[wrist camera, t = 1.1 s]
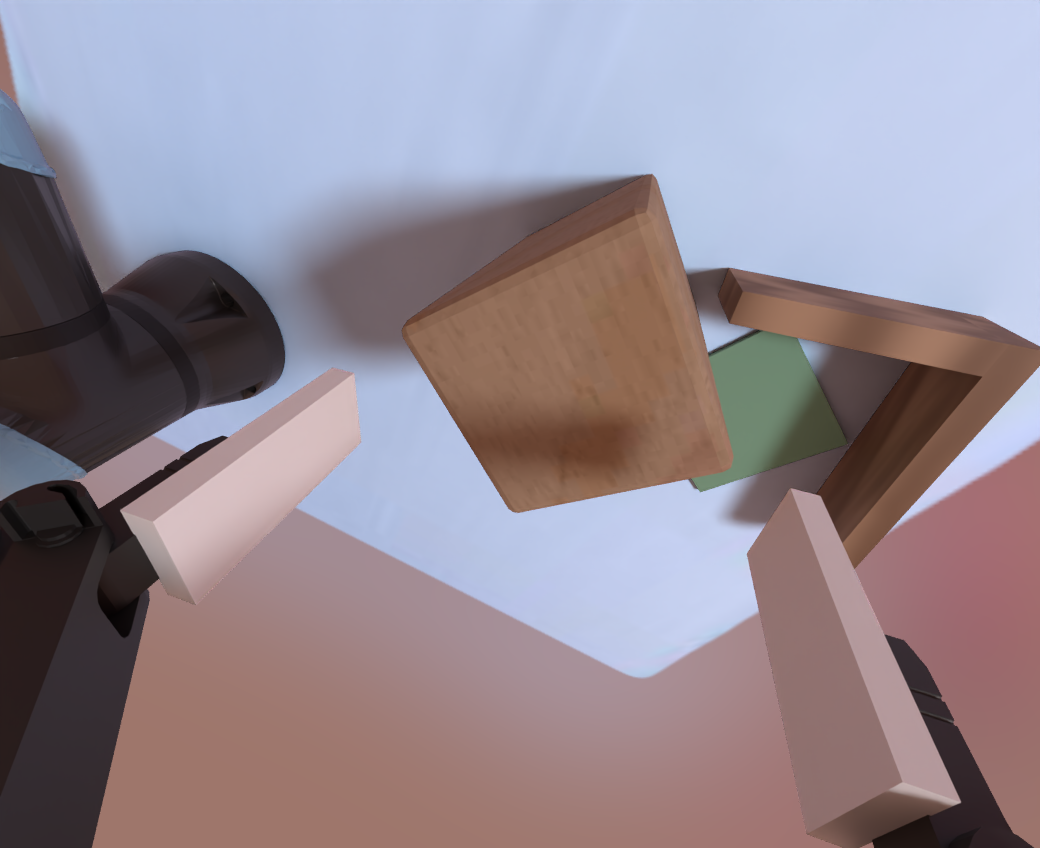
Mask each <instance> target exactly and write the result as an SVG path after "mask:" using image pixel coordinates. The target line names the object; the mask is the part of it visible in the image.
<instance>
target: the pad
mask: <svg viewBox="0 0 1040 848" xmlns="http://www.w3.org/2000/svg"><path fill="white" fill-rule="evenodd" d="M708 356H709V360H710V364H711V368H712V372H713V376H714V380H715V384H716V388H717V392H718V396H719V400H720V404H721V408H722V412H723V416H724V420H725V424H726V428H727V432H728V436H729V440H730V444H731V448H732V452H733V456H734V457H733V461H732V465H731V468H730V469H728V470H726V471H724V472H721V473H716V474H711V475H706V476H701V477H696V478H691V479H692V480H693V482H694V483H695V485H696V487H697V488H698V490H699V491H700V492H703V491H706V490H709V489H712V488H715V487H718V486H721V485H724V484H727V483H730V482H733V481H736V480H739V479H743V478H746V477H749V476H752V475H755V474H758V473H761V472H764V471H767V470H770V469H773V468H776V467H779V466H782V465H785V464H788V463H792V462H795V461H798V460H801V459H804V458H807V457H810V456H813V455H816V454H819V453H822V452H825V451H828V450H831V449H834V448H837V447H841V446H844V445H847V444H848V443H847V441H846V438H845V436H844V434H843V432H842V430H841V428H840V426H839V424H838V422H837V420H836V418H835V416H834V414H833V412H832V410H831V407H830V405H829V403H828V401H827V399H826V397H825V395H824V393H823V391H822V389H821V387H820V385H819V383H818V381H817V379H816V376H815V374H814V372H813V370H812V368H811V366H810V364H809V362H808V360H807V358H806V356H805V354H804V352H803V350H802V348H801V345H800V343H799V341H798V339H797V338H796V337H792V336H787V335H782V334H777V333H773V332H768V331H763V330H759V331H757V332H755V333H753V334H751V335H749V336H747V337H745V338H743V339H741V340H739V341H737V342H735V343H732V344H730V345H728V346H726V347H724V348H722V349H720V350H718V351H716V352H714V353H712V354H710V355H708Z"/></svg>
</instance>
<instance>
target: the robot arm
mask: <svg viewBox="0 0 1040 848" xmlns="http://www.w3.org/2000/svg"><path fill="white" fill-rule="evenodd" d="M54 178H57V177H56V173H55V171H54V170H53V169H52V168H51V167H49V166H48V164H47V162H46V160H45V158H44V156H43V154H42V152H41V150H40V148H39V145H38V143H37V141H36V139H35V137H34V135H33V133H32V131H31V129H30V127H29V125H28V123H27V121H26V119H25V117H24V115H23V113H22V111H21V110H20V108H19V107H18V106H17V104H16V103H15V102H14V101H13V100H12V99H11V98H10V97H9V96H8V95H7V94H6V93H5V92H3V91H2V90H1V89H0V848H92V844H93V840H94V835H95V832H96V827H97V823H98V818H99V814H100V810H101V806H102V801H103V797H104V793H105V789H106V784H107V780H108V776H109V771H110V767H111V763H112V759H113V755H114V750H115V746H116V741H117V737H118V733H119V729H120V724H121V720H122V716H123V712H124V707H125V703H126V699H127V695H128V690H129V686H130V682H131V678H132V673H133V669H134V665H135V660H136V656H137V652H138V648H139V643H140V639H141V634H142V630H143V626H144V621H145V618H146V613H147V609H148V605H149V591H148V590H147V588H149V587H150V586H151V585H152V584H153V583H154V582H156V581H157V580H158V579H159V580H160V582H161V583H162V585H163V587H164V589H165V591H166V592H167V594H168V595H170V596H173V597H176V598H178V599H181V600H184V601H186V602H189V603H192V604H195V605H196V604H198V603H199V602H200V601H201V600H202V599H203V598H204V597H205V596H206V595H207V594H208V593H209V592H210V591H211V590H212V588H214V587H215V586H216V585H217V584H218V583H219V582H220V581H221V580H222V579H223V578H224V577H225V576H226V575H227V574H228V573H229V572H230V571H231V570H232V569H233V568H234V567H235V566H236V565H237V564H238V563H239V562H240V561H241V560H242V559H243V558H244V557H245V556H246V555H247V554H248V553H249V552H250V551H251V550H252V549H253V548H254V547H255V546H256V545H257V544H258V543H259V542H260V541H261V540H262V539H264V538H265V536H267V535H268V534H269V533H270V532H271V531H272V530H273V529H274V528H275V527H276V526H277V525H278V524H279V523H280V522H281V521H282V520H283V519H284V518H285V517H286V516H287V515H288V514H289V513H290V512H291V511H292V510H293V509H294V508H295V507H296V506H297V505H298V504H299V503H300V502H301V501H302V500H303V499H304V498H305V497H306V496H307V495H308V494H309V493H310V492H311V491H312V490H313V489H314V488H315V487H316V486H317V485H318V484H319V483H320V482H321V481H322V480H323V479H324V478H325V477H326V476H327V475H328V474H329V473H330V472H332V471H333V470H334V469H335V468H336V467H337V466H338V465H339V464H340V463H341V462H342V461H343V460H344V459H345V458H346V457H347V456H348V455H349V454H350V453H351V452H352V451H353V450H354V449H355V448H356V447H357V446H358V445H359V444H360V443H361V436H360V426H359V416H358V406H357V396H356V387H355V377H354V373H351V372H348V371H344V370H340V369H336V368H331V369H330V370H328V371H327V372H325V373H324V374H322V375H321V376H319V377H318V378H316V379H315V380H313V381H312V382H310V383H309V384H307V385H306V386H304V387H303V388H301V389H300V390H298V391H297V392H295V393H294V394H292V395H291V396H289V397H288V398H286V399H285V400H283V401H282V402H280V403H279V404H277V405H276V406H274V407H273V408H272V409H270V410H269V411H267V412H266V413H264V414H263V415H261V416H260V417H258V418H257V419H255V420H254V421H252V422H251V423H249V424H248V425H246V426H245V427H243V428H242V429H240V430H239V431H237V432H236V433H234V434H233V435H231V436H230V437H225V436H220V437H218V438H215V439H212V440H210V441H207V442H204V443H202V444H199V445H198V446H196V447H195V448H193V449H191V450H190V451H188V452H187V453H185V454H184V455H182V456H181V457H180V459H179V460H177V459H176V460H174V461H173V462H171V463H170V464H168V465H167V466H165V468H164V470H159V471H158V472H156V473H154V474H153V475H151V476H150V477H148V478H147V479H145V480H143V481H142V482H140V483H139V484H137V485H136V486H134V487H133V488H131V489H129V490H128V491H126V492H125V493H123V494H122V495H120V496H119V497H117V498H115V499H114V500H112V501H111V502H109V503H108V504H106V505H105V506H103V507H101V508H100V509H98V507H97V506H96V504H95V502H94V501H93V499H92V497H91V496H90V494H89V492H88V491H87V489H86V488H85V487H84V486H83V485H82V484H81V483H80V482H76V481H73V480H75V479H81V478H83V477H85V476H86V475H87V473H88V472H89V471H91V470H93V469H95V468H97V467H98V466H100V465H102V464H103V463H105V462H107V461H108V460H110V459H112V458H113V457H115V456H117V455H119V454H120V453H122V452H124V451H125V450H127V449H129V448H131V447H132V446H134V445H136V444H137V443H139V442H141V441H142V440H144V439H146V438H148V437H149V436H151V435H153V434H155V433H156V432H158V431H160V430H161V429H163V428H165V427H167V426H168V425H170V424H172V423H174V422H175V421H177V420H179V419H180V418H182V417H184V416H186V415H187V414H189V413H191V412H193V411H195V410H197V409H201V408H206V407H211V406H216V405H220V404H225V403H230V402H235V401H240V400H244V399H248V398H251V397H254V396H256V395H258V394H259V393H261V392H263V391H264V390H266V389H268V388H269V387H271V386H272V385H274V384H275V383H276V382H277V380H278V379H279V378H280V376H281V374H282V371H283V368H284V363H285V350H284V343H283V339H282V335H281V332H280V329H279V327H278V324H277V322H276V320H275V318H274V316H273V314H272V312H271V310H270V309H269V307H268V306H267V304H266V303H265V301H264V300H263V298H262V297H261V296H260V294H259V293H258V292H257V291H256V290H255V288H254V287H253V286H252V285H251V284H250V283H249V282H248V281H247V280H246V279H245V278H244V277H243V276H241V275H240V274H239V273H238V272H237V271H235V270H234V269H233V268H231V267H230V266H228V265H227V264H225V263H224V262H222V261H220V260H218V259H216V258H214V257H212V256H210V255H207V254H204V253H200V252H196V251H179V252H174V253H170V254H165V255H161V256H157V257H155V258H153V259H150V260H149V261H147V262H146V263H144V264H143V265H142V266H140V267H139V268H137V269H136V270H134V271H133V272H132V273H130V274H129V275H128V276H126V277H125V278H123V279H122V280H121V281H119V282H118V283H117V284H115V285H114V286H112V287H111V288H110V289H108V290H107V291H106V292H104V293H101V290H100V288H99V285H98V283H97V281H96V278H95V276H94V273H93V271H92V269H91V266H90V264H89V262H88V259H87V257H86V254H85V252H84V250H83V247H82V245H81V243H80V240H79V238H78V235H77V233H76V231H75V228H74V226H73V224H72V221H71V219H70V216H69V214H68V212H67V209H66V207H65V205H64V202H63V200H62V197H61V195H60V193H59V190H58V188H57V185H56V183H55V180H54ZM747 557H748V562H749V566H750V571H751V576H752V580H753V585H754V590H755V594H756V599H757V604H758V608H759V613H760V618H761V622H762V627H763V632H764V636H765V641H766V646H767V650H768V655H769V660H770V665H771V669H772V674H773V679H774V683H775V688H776V692H777V697H778V702H779V707H780V712H781V716H782V721H783V725H784V730H785V735H786V740H787V744H788V749H789V754H790V758H791V763H792V767H793V773H794V777H795V781H796V787H797V791H798V796H799V800H800V805H801V810H802V815H803V819H804V824H805V828H806V833H807V834H808V835H810V836H813V837H816V838H818V839H821V840H824V841H826V842H829V843H832V844H834V845H837V846H840V847H842V848H860V847H862V846H864V845H867V844H869V843H871V842H873V845H874V848H1034V847H1032V846H1031V845H1030V844H1028V843H1027V842H1026V841H1024V840H1023V839H1022V838H1020V837H1019V836H1017V835H1015V834H1013V832H1012V830H1011V829H1010V827H1009V825H1008V824H1007V822H1006V820H1005V818H1004V816H1003V815H1002V812H1001V811H1000V808H999V807H998V805H997V803H996V801H995V799H994V797H993V795H992V793H991V791H990V789H989V787H988V785H987V783H986V781H985V779H984V778H983V776H982V773H981V772H980V770H979V768H978V766H977V764H976V762H975V760H974V758H973V756H972V754H971V752H970V750H969V748H968V746H967V744H966V742H965V740H964V739H963V736H962V734H961V733H960V731H959V729H958V727H957V726H955V725H954V724H953V721H954V719H953V717H952V715H951V713H950V711H949V709H948V707H947V705H946V703H945V702H943V701H942V700H941V697H942V695H941V694H940V692H939V690H938V688H937V686H936V684H935V682H934V680H933V678H932V676H931V674H930V672H929V670H928V668H927V667H926V666H925V665H924V663H923V662H922V661H921V660H920V659H919V657H918V656H917V655H916V654H915V653H914V651H913V650H912V649H911V648H910V647H909V646H908V644H907V643H906V642H905V641H904V640H901V639H898V638H895V637H891V636H888V635H885V634H884V633H883V631H882V629H881V627H880V624H879V623H878V620H877V618H876V616H875V614H874V611H873V609H872V607H871V605H870V603H869V601H868V598H867V596H866V594H865V592H864V590H863V587H862V585H861V584H860V581H859V579H858V577H857V574H856V572H855V570H854V568H853V566H852V564H851V561H850V559H849V557H848V555H847V553H846V550H845V548H844V546H843V544H842V542H841V540H840V537H839V535H838V533H837V531H836V529H835V527H834V524H833V522H832V520H831V518H830V516H829V514H828V511H827V509H826V507H825V505H824V503H823V500H822V498H821V496H819V495H815V494H811V493H807V492H804V491H800V490H796V489H792V488H790V489H789V491H788V492H787V494H786V495H785V497H784V498H783V500H782V501H781V503H780V504H779V506H778V507H777V509H776V510H775V512H774V513H773V515H772V517H771V518H770V520H769V521H768V523H767V524H766V526H765V527H764V529H763V530H762V532H761V533H760V535H759V536H758V538H757V539H756V541H755V542H754V544H753V545H752V547H751V548H750V550H749V551H748V553H747Z"/></svg>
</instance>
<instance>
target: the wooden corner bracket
mask: <svg viewBox="0 0 1040 848" xmlns="http://www.w3.org/2000/svg"><path fill="white" fill-rule="evenodd" d="M718 297H719V300H720V302H721V305H722V307H723V309H724V312H725V314H726V317H727V319H728V321H729V323H730V324H735V325H740V326H744V327H749V328H754V329H758V330H763V331H768V332H773V333H777V334H782V335H787V336H792V337H796V338H801V339H806V340H811V341H815V342H820V343H825V344H830V345H834V346H839V347H844V348H848V349H853V350H858V351H863V352H867V353H872V354H877V355H882V356H886V357H891V358H896V359H901V360H905V361H910V362H911V363H910V365H909V366H908V367H907V369H906V370H905V372H904V373H903V374H902V376H901V377H900V378H899V380H898V381H897V383H896V384H895V385H894V387H893V388H892V390H891V391H890V392H889V394H888V395H887V397H886V398H885V399H884V401H883V402H882V404H881V405H880V406H879V408H878V409H877V410H876V412H875V413H874V415H873V416H872V417H871V419H870V420H869V422H868V423H867V424H866V426H865V427H864V429H863V430H862V431H861V433H860V434H859V436H858V437H857V438H856V440H855V441H854V442H853V444H852V445H851V447H850V448H849V449H848V451H847V452H846V454H845V455H844V456H843V458H842V459H841V461H840V462H839V463H838V465H837V466H836V467H835V469H834V470H833V472H832V473H831V474H830V476H829V477H828V479H827V480H826V481H825V483H824V484H823V486H822V487H821V488H820V490H819V491H818V493H817V494H816V495H819V496H821V498H822V500H823V503H824V505H825V507H826V509H827V511H828V514H829V516H830V518H831V520H832V522H833V524H834V527H835V529H836V531H837V533H838V535H839V537H840V540H841V542H842V544H843V546H844V548H845V550H846V553H847V555H848V557H849V559H850V561H851V564H852V566H853V568H854V569H855V568H856V567H857V566H858V564H859V563H860V562H861V561H862V560H863V559H864V558H865V557H866V556H867V555H868V553H869V552H870V551H871V550H872V549H873V548H874V547H875V546H876V545H877V544H878V542H879V541H880V540H881V539H882V538H883V537H884V536H885V535H886V534H887V533H888V532H889V530H890V529H891V528H892V527H893V526H894V525H895V524H896V523H897V522H898V521H899V520H900V518H901V517H902V516H903V515H904V514H905V513H906V512H907V511H908V510H909V509H910V507H911V506H912V505H913V504H914V503H915V502H916V501H917V500H918V499H919V498H920V497H921V495H922V494H923V493H924V492H925V491H926V490H927V489H928V488H929V487H930V486H931V484H932V483H933V482H934V481H935V480H936V479H937V478H938V477H939V476H940V475H941V474H942V472H943V471H944V470H945V469H946V468H947V467H948V466H949V465H950V464H951V463H952V461H953V460H954V459H955V458H956V457H957V456H958V455H959V454H960V453H961V452H962V451H963V449H964V448H965V447H966V446H967V445H968V444H969V443H970V442H971V441H972V440H973V438H974V437H975V436H976V435H977V434H978V433H979V432H980V431H981V430H982V429H983V428H984V426H985V425H986V424H987V423H988V422H989V421H990V420H991V419H992V418H993V417H994V415H995V414H996V413H997V412H998V411H999V410H1000V409H1001V408H1002V407H1003V406H1004V405H1005V403H1006V402H1007V401H1008V400H1009V399H1010V398H1011V397H1012V396H1013V395H1014V394H1015V392H1016V391H1017V390H1018V389H1019V388H1020V387H1021V386H1022V385H1023V384H1024V383H1025V382H1026V380H1027V379H1028V378H1029V377H1030V376H1031V375H1032V374H1033V373H1034V372H1035V371H1036V369H1037V368H1038V367H1039V366H1040V346H1038V345H1036V344H1034V343H1032V342H1030V341H1028V340H1026V339H1024V338H1022V337H1020V336H1019V335H1017V334H1015V333H1013V332H1011V331H1009V330H1007V329H1005V328H1003V327H1001V326H999V325H997V324H995V323H994V322H992V321H990V320H988V319H986V318H984V317H981V316H976V315H971V314H966V313H961V312H955V311H950V310H945V309H940V308H935V307H929V306H924V305H919V304H914V303H909V302H904V301H898V300H893V299H888V298H883V297H878V296H873V295H867V294H862V293H857V292H852V291H847V290H842V289H836V288H831V287H826V286H821V285H816V284H810V283H805V282H800V281H795V280H790V279H785V278H779V277H774V276H769V275H764V274H759V273H754V272H748V271H743V270H738V269H733V268H729V269H728V272H727V274H726V277H725V279H724V282H723V284H722V287H721V289H720V292H719V294H718Z"/></svg>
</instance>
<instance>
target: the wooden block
mask: <svg viewBox="0 0 1040 848" xmlns="http://www.w3.org/2000/svg"><path fill="white" fill-rule="evenodd" d="M402 334H403V338H404V340H405V341H406V343H407V345H408V346H409V348H410V350H411V351H412V353H413V354H414V356H415V358H416V359H417V361H418V363H419V364H420V366H421V367H422V369H423V371H424V372H425V374H426V376H427V377H428V379H429V380H430V382H431V384H432V385H433V387H434V389H435V390H436V392H437V393H438V395H439V397H440V398H441V400H442V402H443V403H444V405H445V406H446V408H447V410H448V411H449V413H450V415H451V416H452V418H453V419H454V421H455V423H456V424H457V426H458V428H459V429H460V431H461V432H462V434H463V436H464V437H465V439H466V441H467V442H468V444H469V445H470V447H471V449H472V450H473V452H474V454H475V455H476V457H477V458H478V460H479V462H480V463H481V465H482V467H483V468H484V470H485V471H486V473H487V475H488V476H489V478H490V479H491V481H492V483H493V484H494V486H495V488H496V489H497V491H498V492H499V494H500V496H501V497H502V499H503V501H504V502H505V504H506V505H507V507H508V509H510V510H511V511H512V512H517V513H520V512H525V511H530V510H535V509H540V508H545V507H550V506H555V505H560V504H565V503H570V502H575V501H580V500H585V499H590V498H595V497H600V496H605V495H610V494H615V493H620V492H626V491H631V490H636V489H641V488H646V487H651V486H656V485H661V484H666V483H671V482H676V481H681V480H686V479H691V478H696V477H701V476H706V475H711V474H716V473H721V472H724V471H726V470H728V469H730V468H731V465H732V461H733V457H734V456H733V452H732V448H731V444H730V440H729V436H728V432H727V428H726V424H725V420H724V416H723V412H722V408H721V404H720V400H719V396H718V392H717V388H716V384H715V380H714V376H713V372H712V368H711V364H710V360H709V356H708V352H707V348H706V344H705V340H704V336H703V332H702V328H701V324H700V320H699V316H698V312H697V308H696V304H695V301H694V298H693V294H692V291H691V288H690V285H689V282H688V278H687V275H686V272H685V269H684V266H683V262H682V259H681V256H680V253H679V250H678V246H677V243H676V240H675V237H674V234H673V230H672V227H671V224H670V221H669V218H668V214H667V211H666V208H665V205H664V202H663V198H662V195H661V192H660V189H659V185H658V182H657V179H656V178H655V177H654V175H653V174H649V175H645V176H643V177H641V178H639V179H637V180H635V181H633V182H631V183H629V184H628V185H626V186H624V187H622V188H620V189H618V190H616V191H614V192H612V193H610V194H608V195H606V196H605V197H603V198H601V199H599V200H597V201H595V202H593V203H591V204H589V205H587V206H585V207H584V208H582V209H580V210H578V211H576V212H574V213H572V214H570V215H568V216H566V217H564V218H562V219H561V220H559V221H557V222H555V223H553V224H551V225H549V226H547V227H545V228H543V229H541V230H540V231H538V232H536V233H534V234H532V235H530V236H528V237H526V238H525V239H524V240H522V241H521V242H519V243H518V244H516V245H515V246H514V247H512V248H511V249H509V250H508V251H506V252H505V253H503V254H502V255H501V256H499V257H498V258H496V259H495V260H493V261H492V262H491V263H489V264H488V265H486V266H485V267H483V268H482V269H481V270H479V271H478V272H476V273H475V274H473V275H472V276H471V277H469V278H468V279H466V280H465V281H463V282H462V283H461V284H459V285H458V286H456V287H455V288H453V289H452V290H451V291H449V292H448V293H446V294H445V295H443V296H442V297H441V298H439V299H438V300H436V301H435V302H433V303H432V304H431V305H429V306H428V307H426V308H425V309H423V310H422V311H421V312H419V313H418V314H416V315H415V316H413V317H412V318H411V319H409V320H408V321H407V322H406V324H405V325H404V326H403V328H402Z"/></svg>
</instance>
